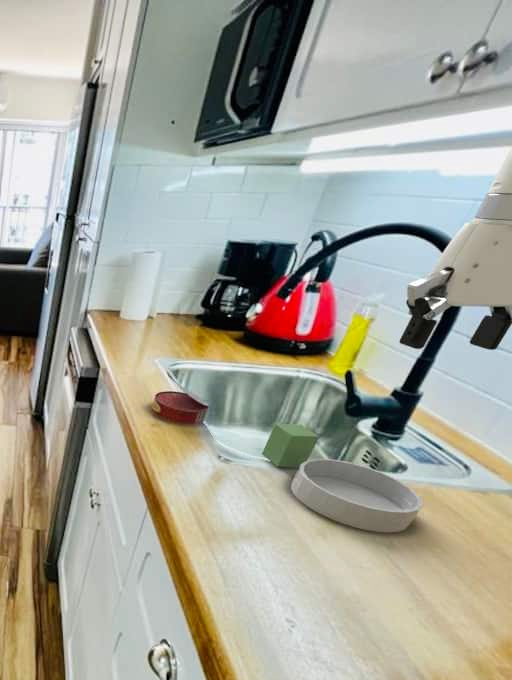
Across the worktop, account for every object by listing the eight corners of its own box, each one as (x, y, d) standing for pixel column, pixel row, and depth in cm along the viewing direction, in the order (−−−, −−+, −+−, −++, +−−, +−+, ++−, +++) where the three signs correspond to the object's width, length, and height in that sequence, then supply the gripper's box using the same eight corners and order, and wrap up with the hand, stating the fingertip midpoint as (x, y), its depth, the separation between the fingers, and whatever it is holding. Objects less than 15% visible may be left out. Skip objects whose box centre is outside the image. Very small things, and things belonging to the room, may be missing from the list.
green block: (286, 454, 84) (301, 424, 81) (303, 468, 80) (319, 436, 77) (261, 454, 84) (275, 423, 81) (277, 467, 81) (292, 435, 78)
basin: (358, 478, 78) (368, 460, 76) (437, 534, 66) (452, 514, 64) (271, 475, 78) (279, 457, 76) (333, 530, 66) (345, 510, 64)
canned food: (154, 422, 105) (170, 378, 104) (205, 434, 98) (222, 387, 97) (139, 413, 96) (155, 365, 95) (193, 425, 90) (211, 373, 89)
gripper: (560, 209, 62) (482, 339, 70) (422, 209, 63) (361, 338, 71) (634, 213, 55) (539, 355, 64) (479, 212, 56) (405, 354, 64)
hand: (445, 346), depth 67 cm, fingers open, 9 cm apart
